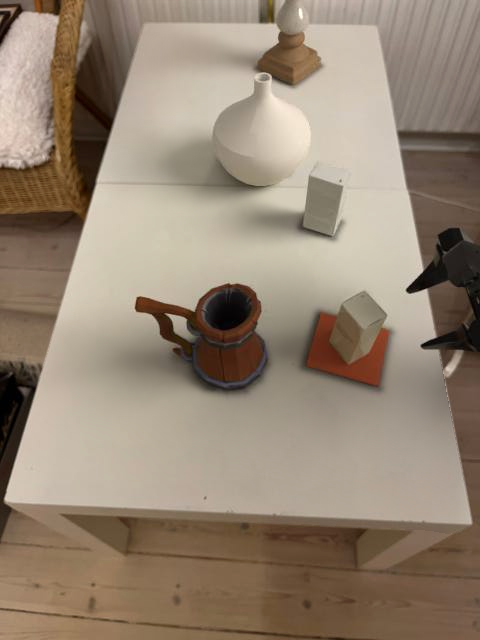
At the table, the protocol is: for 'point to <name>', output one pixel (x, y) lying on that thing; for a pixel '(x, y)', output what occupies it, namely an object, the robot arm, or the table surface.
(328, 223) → the cosmetic box
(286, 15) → the candle holder
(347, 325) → the box
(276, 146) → the vase
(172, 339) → the mug
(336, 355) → the mat
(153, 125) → the table surface
